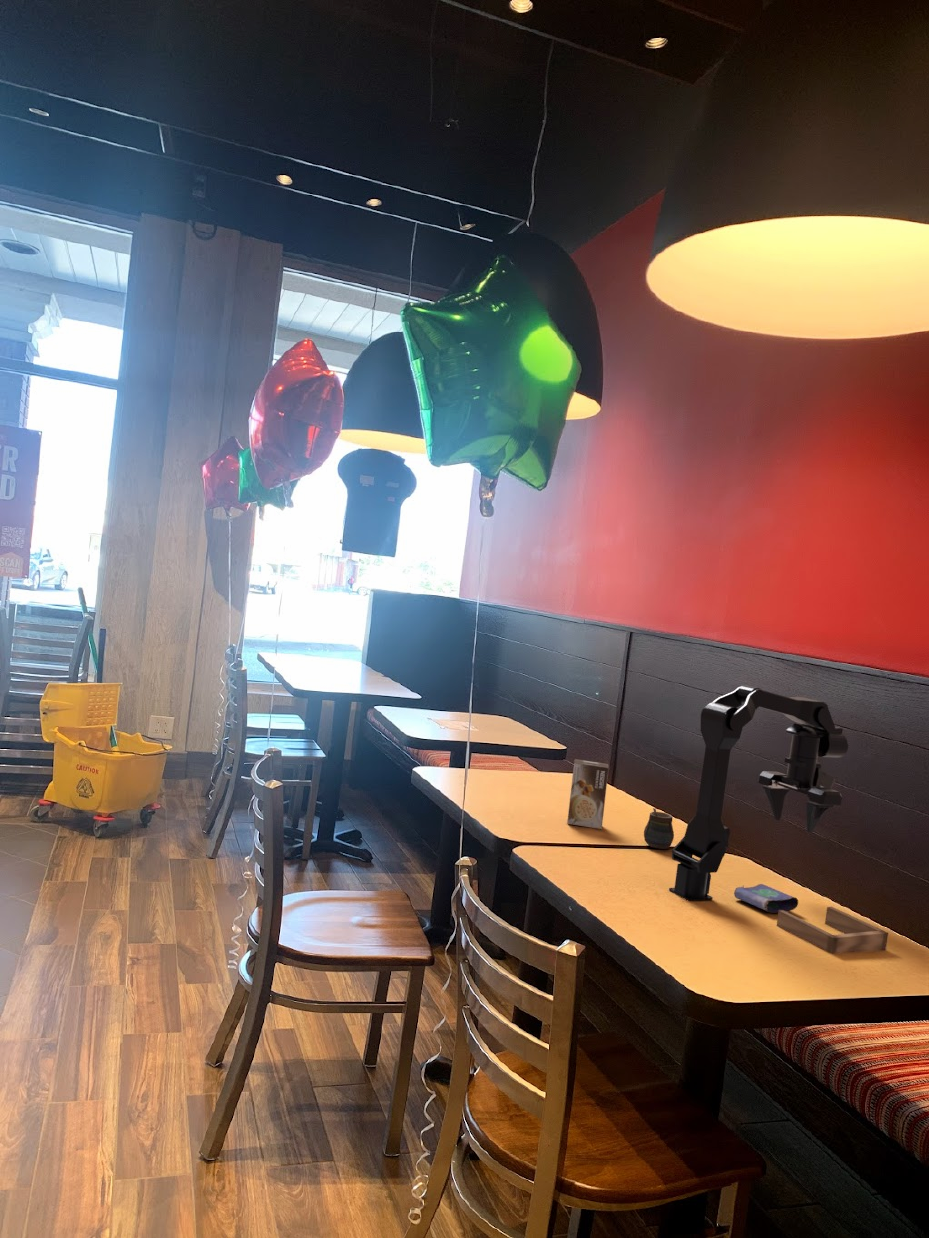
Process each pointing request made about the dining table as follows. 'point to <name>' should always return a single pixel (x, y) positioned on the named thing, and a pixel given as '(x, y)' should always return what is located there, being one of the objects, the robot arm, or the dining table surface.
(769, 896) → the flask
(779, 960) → the dining table surface
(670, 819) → the mate gourd
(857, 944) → the walnut u-shaped fence
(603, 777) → the coffee box
